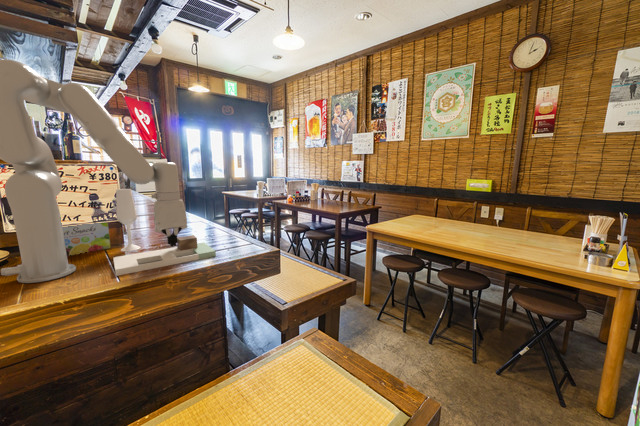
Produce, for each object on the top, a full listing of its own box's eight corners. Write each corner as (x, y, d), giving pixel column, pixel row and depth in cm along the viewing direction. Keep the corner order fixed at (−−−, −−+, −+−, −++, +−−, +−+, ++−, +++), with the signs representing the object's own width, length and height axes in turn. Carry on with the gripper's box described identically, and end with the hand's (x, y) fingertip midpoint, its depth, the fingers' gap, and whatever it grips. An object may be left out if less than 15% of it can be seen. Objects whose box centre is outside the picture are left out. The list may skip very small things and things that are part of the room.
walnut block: (180, 250, 99) (179, 240, 99) (177, 247, 103) (176, 237, 103) (197, 247, 103) (196, 237, 102) (194, 244, 107) (193, 235, 106)
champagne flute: (120, 252, 103) (112, 190, 99) (121, 247, 108) (113, 189, 104) (140, 249, 107) (134, 189, 102) (140, 245, 112) (134, 188, 108)
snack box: (36, 262, 91) (28, 220, 89) (33, 259, 95) (25, 217, 92) (111, 248, 108) (106, 211, 105) (107, 245, 111) (102, 210, 109)
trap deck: (115, 275, 81) (115, 269, 81) (113, 262, 92) (113, 257, 92) (215, 255, 100) (215, 250, 100) (204, 247, 111) (204, 242, 110)
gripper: (145, 199, 89) (151, 251, 92) (193, 196, 98) (196, 244, 102) (142, 197, 95) (148, 246, 98) (188, 194, 104) (191, 239, 107)
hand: (172, 245), depth 100 cm, fingers closed
